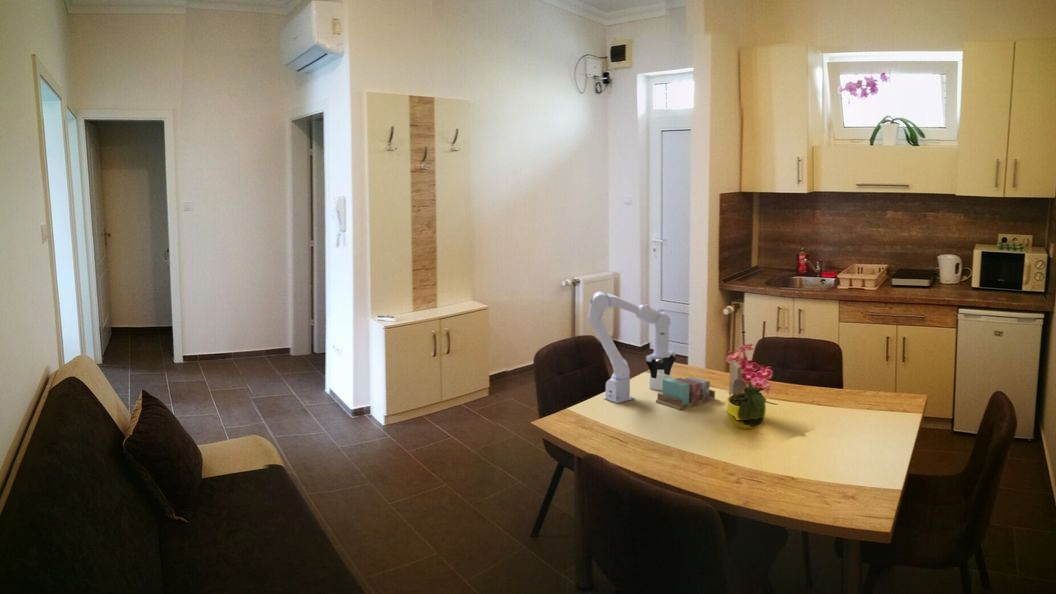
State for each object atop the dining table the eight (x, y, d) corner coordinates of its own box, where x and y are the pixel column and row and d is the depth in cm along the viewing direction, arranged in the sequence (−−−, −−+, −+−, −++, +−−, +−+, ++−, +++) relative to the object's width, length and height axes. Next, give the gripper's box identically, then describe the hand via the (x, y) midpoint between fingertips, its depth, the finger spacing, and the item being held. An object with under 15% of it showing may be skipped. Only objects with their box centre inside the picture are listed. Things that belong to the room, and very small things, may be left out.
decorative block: (751, 421, 258) (753, 367, 255) (735, 420, 259) (737, 367, 255) (743, 411, 269) (745, 359, 266) (728, 410, 270) (730, 359, 266)
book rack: (679, 410, 271) (680, 389, 269) (655, 402, 280) (656, 382, 279) (714, 399, 283) (715, 380, 282) (691, 392, 293) (691, 373, 291)
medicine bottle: (671, 387, 300) (672, 359, 298) (665, 391, 294) (665, 363, 292) (655, 384, 304) (656, 357, 302) (648, 388, 298) (649, 361, 296)
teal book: (681, 405, 273) (682, 385, 271) (662, 399, 281) (662, 379, 279) (688, 403, 275) (689, 383, 274) (669, 397, 283) (669, 377, 282)
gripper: (656, 347, 273) (655, 381, 275) (681, 341, 282) (680, 375, 284) (642, 344, 279) (641, 377, 281) (667, 338, 287) (667, 371, 289)
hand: (660, 376), depth 283 cm, fingers open, 7 cm apart
